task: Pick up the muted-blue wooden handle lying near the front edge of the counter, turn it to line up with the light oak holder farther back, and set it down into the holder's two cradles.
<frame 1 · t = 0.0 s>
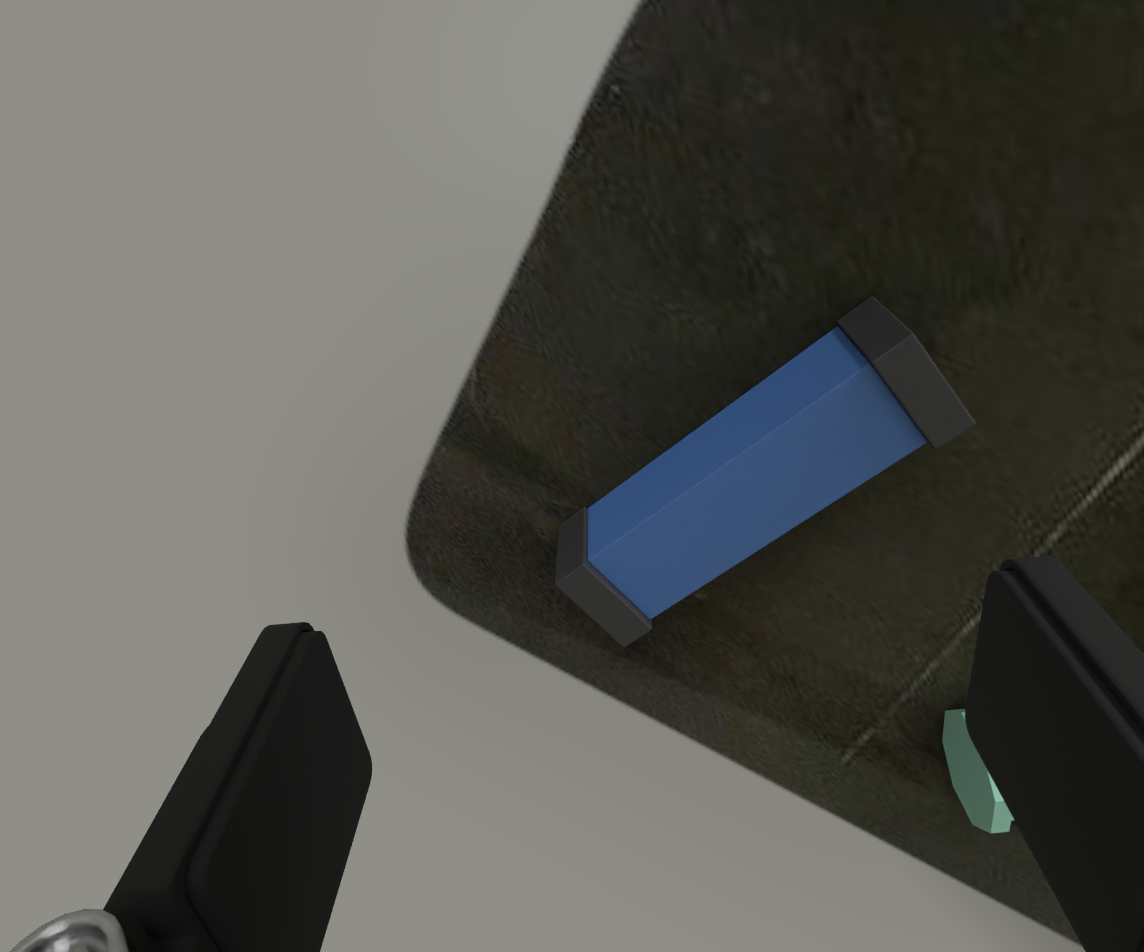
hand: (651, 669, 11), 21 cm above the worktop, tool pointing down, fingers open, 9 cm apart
handle: (732, 454, 33), on the worktop
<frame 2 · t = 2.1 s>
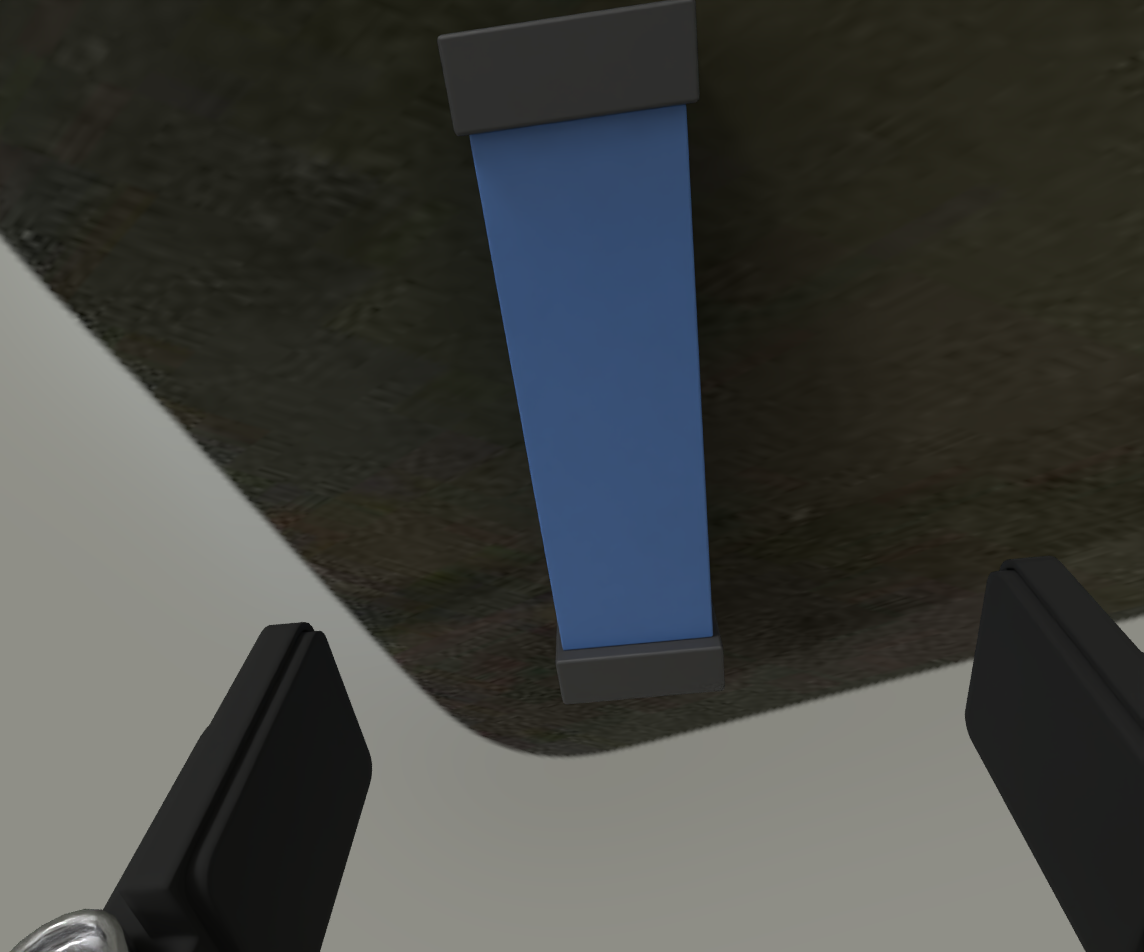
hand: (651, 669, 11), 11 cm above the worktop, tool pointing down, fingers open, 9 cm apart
handle: (607, 362, 21), on the worktop
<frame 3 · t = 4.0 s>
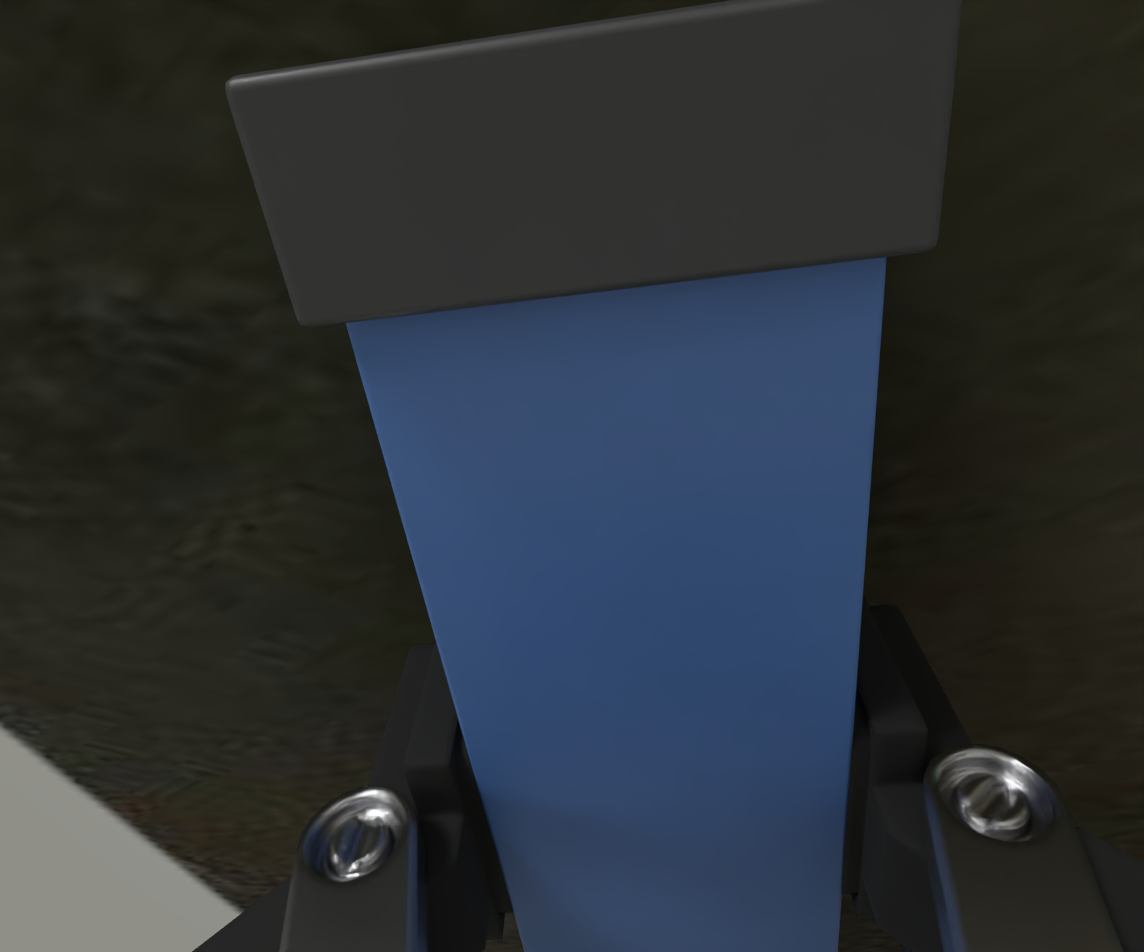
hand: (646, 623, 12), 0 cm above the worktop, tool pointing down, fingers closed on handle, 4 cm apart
handle: (645, 610, 12), on the worktop, touching gripper
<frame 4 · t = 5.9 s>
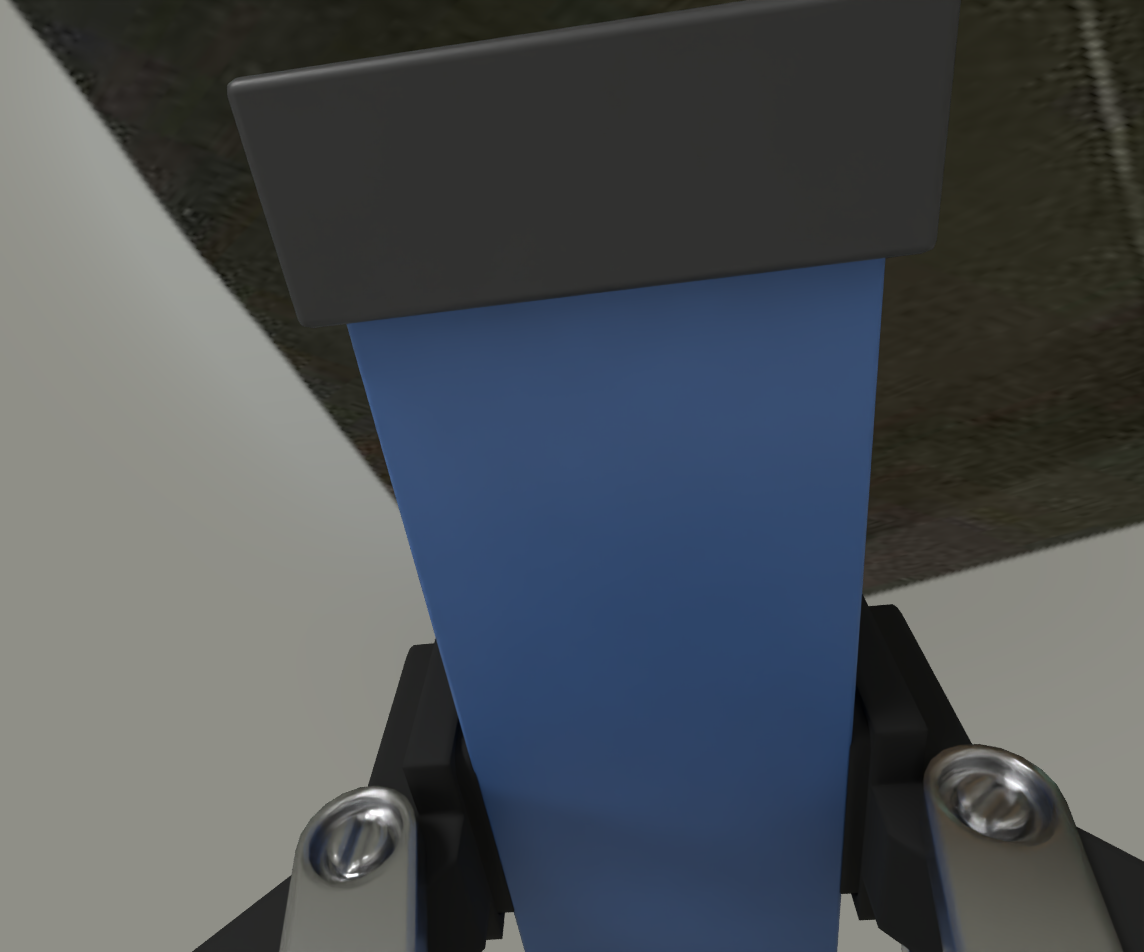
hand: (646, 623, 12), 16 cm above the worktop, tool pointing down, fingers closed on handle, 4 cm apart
handle: (645, 609, 12), point 16 cm above the worktop, touching gripper
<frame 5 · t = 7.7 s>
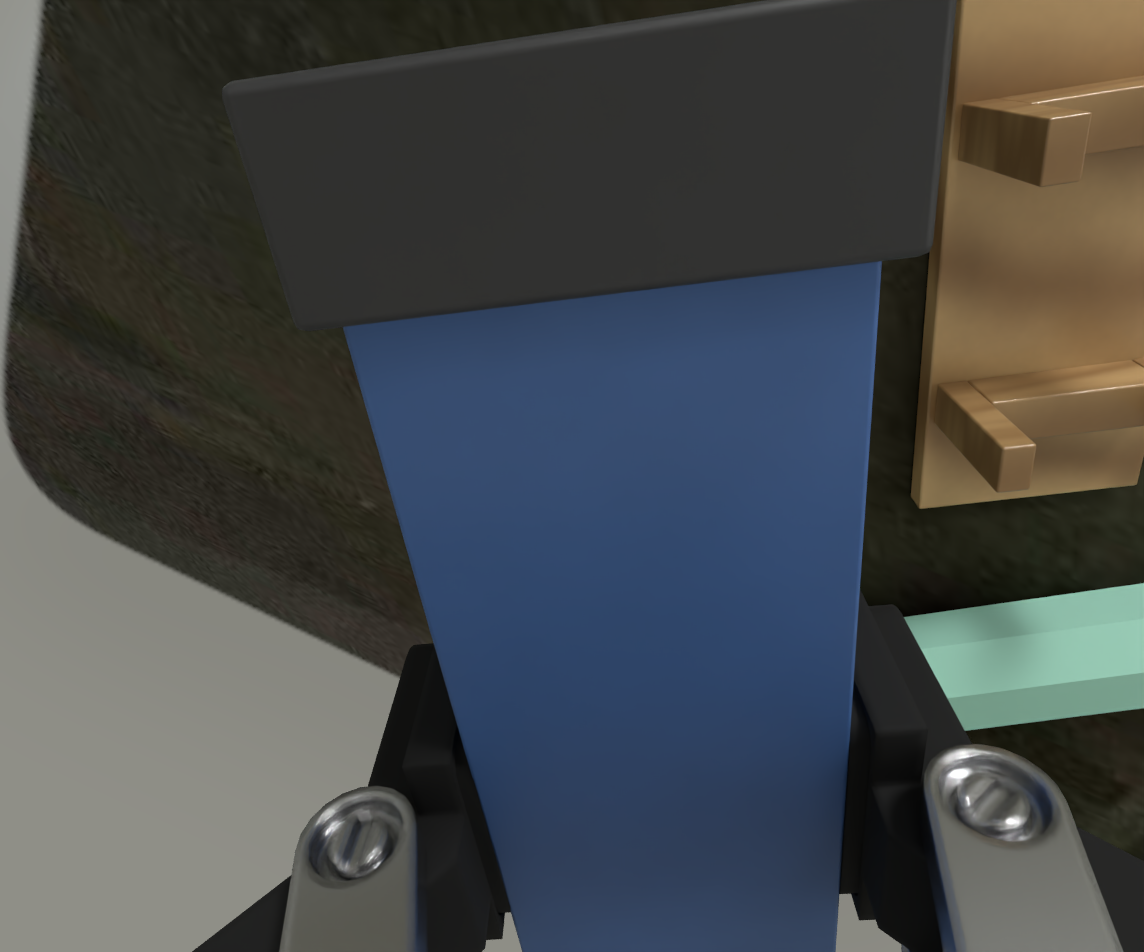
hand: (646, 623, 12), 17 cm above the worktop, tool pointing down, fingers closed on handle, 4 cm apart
holder: (1049, 256, 26), on the worktop
mint octagonal rod: (967, 621, 34), on the worktop
handle: (644, 611, 12), point 17 cm above the worktop, touching gripper
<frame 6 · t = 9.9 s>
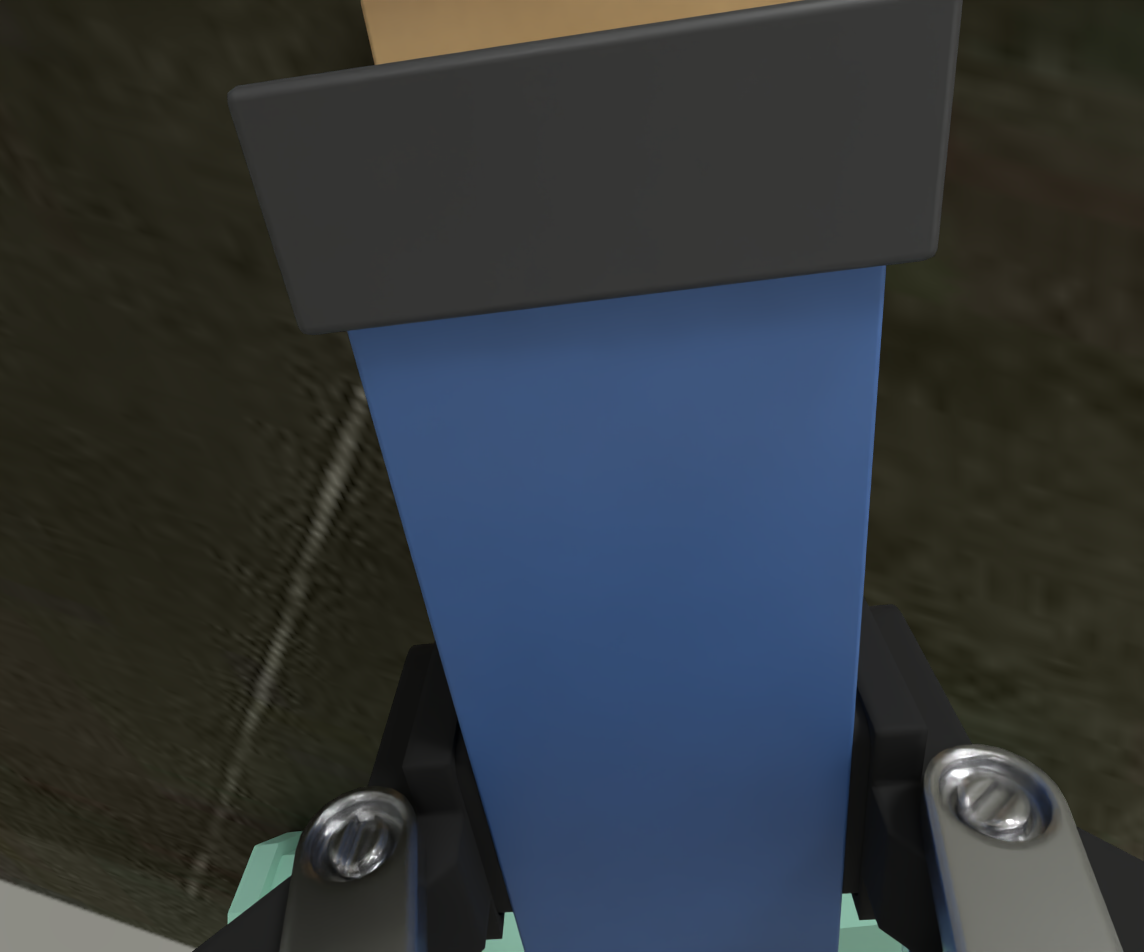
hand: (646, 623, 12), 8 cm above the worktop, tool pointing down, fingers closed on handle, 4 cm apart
holder: (623, 401, 19), on the worktop
mint octagonal rod: (639, 816, 27), on the worktop
handle: (646, 613, 12), point 8 cm above the worktop, touching gripper
when the fingers open (3 cm above the worktop, at t = 11.5 s): handle stays where it is, resting on holder.
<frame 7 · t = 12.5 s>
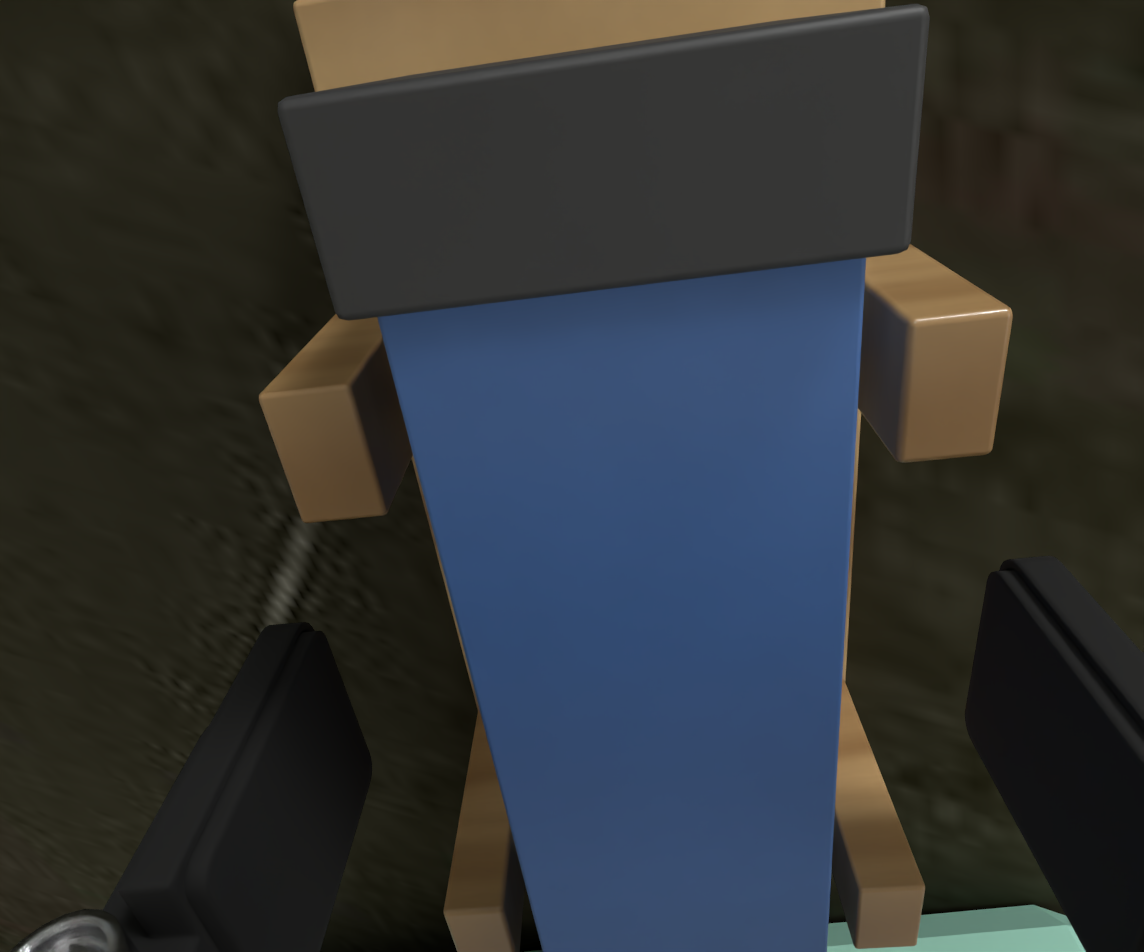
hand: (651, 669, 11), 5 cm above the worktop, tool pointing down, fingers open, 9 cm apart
holder: (637, 497, 15), on the worktop
mint octagonal rod: (650, 945, 23), on the worktop
handle: (647, 595, 13), point 3 cm above the worktop, touching holder
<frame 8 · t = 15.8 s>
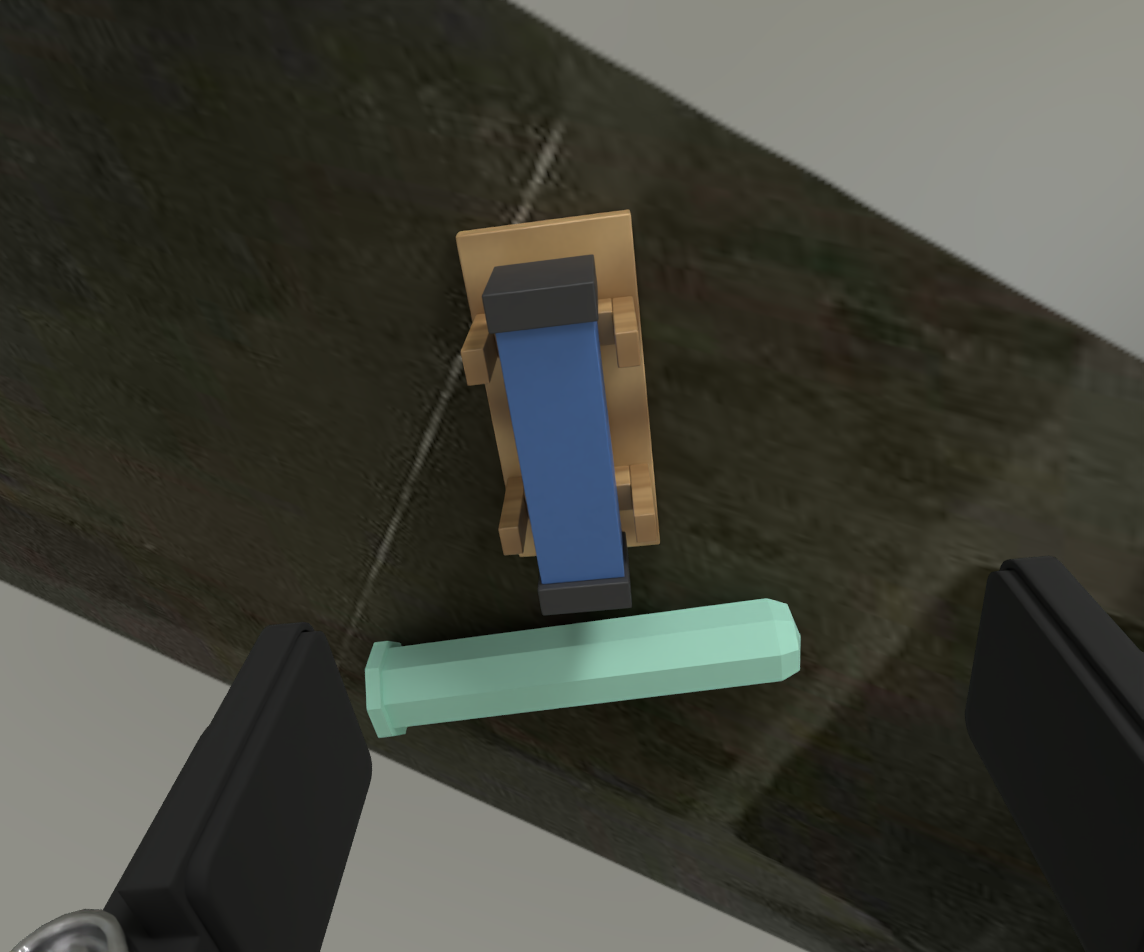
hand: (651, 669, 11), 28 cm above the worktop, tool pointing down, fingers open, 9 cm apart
holder: (568, 398, 40), on the worktop
mint octagonal rod: (586, 633, 48), on the worktop
handle: (567, 425, 37), point 3 cm above the worktop, touching holder
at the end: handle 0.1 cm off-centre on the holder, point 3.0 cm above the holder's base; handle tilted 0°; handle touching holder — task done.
